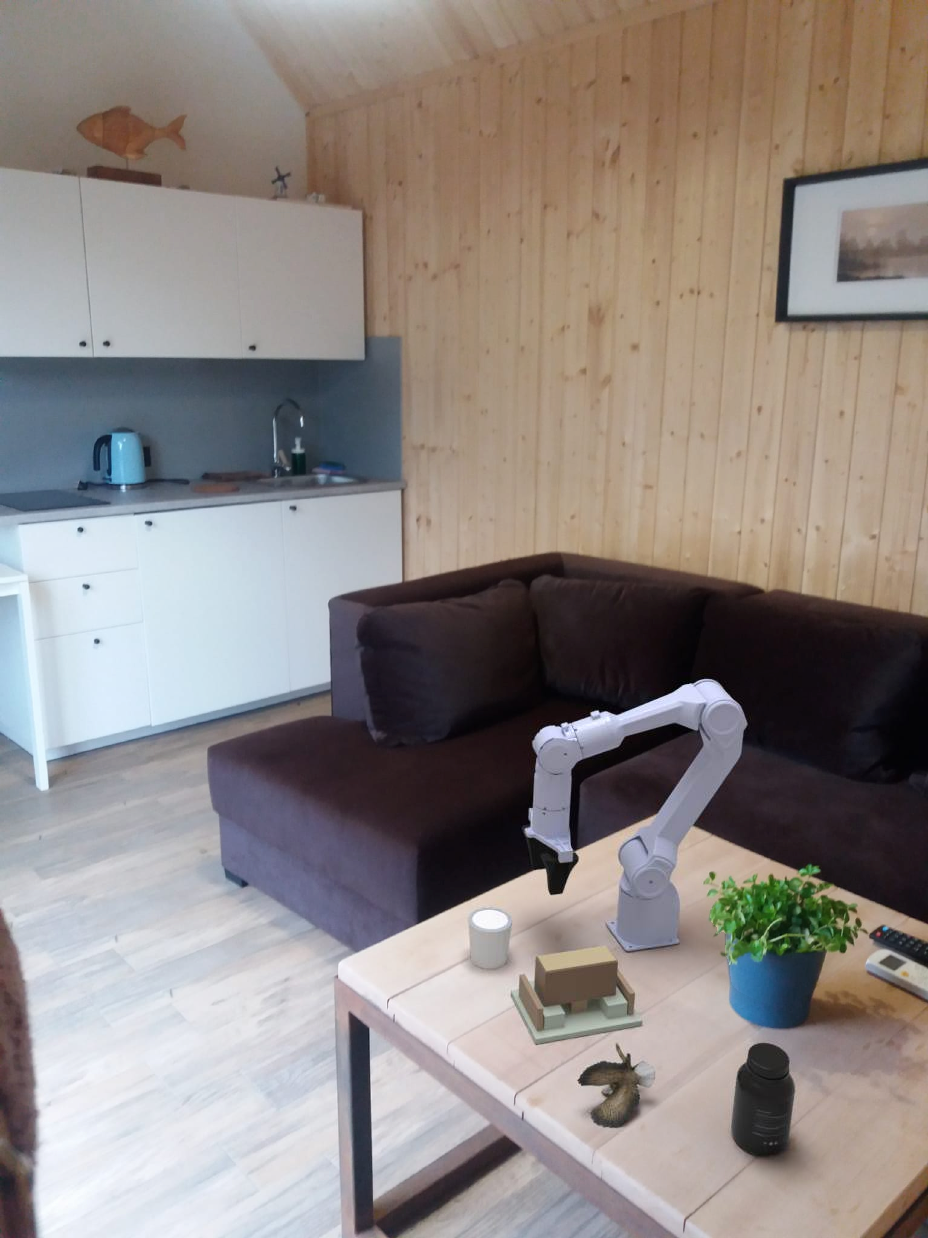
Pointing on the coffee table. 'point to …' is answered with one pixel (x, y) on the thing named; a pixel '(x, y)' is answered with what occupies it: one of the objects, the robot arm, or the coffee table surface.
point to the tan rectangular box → (575, 976)
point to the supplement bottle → (763, 1101)
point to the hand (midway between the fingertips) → (547, 880)
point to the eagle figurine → (617, 1087)
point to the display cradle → (575, 1013)
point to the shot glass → (489, 937)
